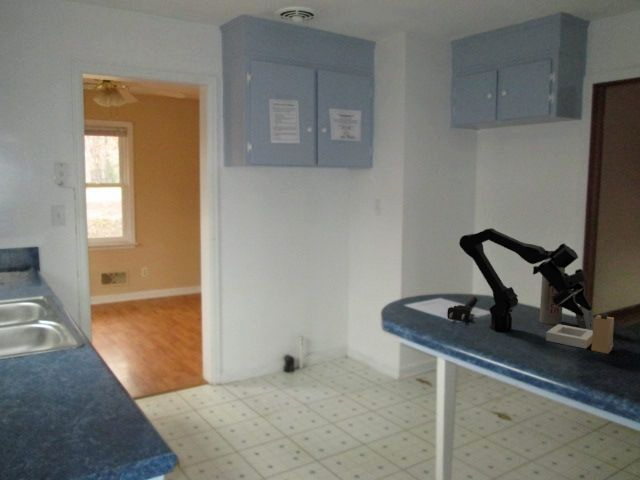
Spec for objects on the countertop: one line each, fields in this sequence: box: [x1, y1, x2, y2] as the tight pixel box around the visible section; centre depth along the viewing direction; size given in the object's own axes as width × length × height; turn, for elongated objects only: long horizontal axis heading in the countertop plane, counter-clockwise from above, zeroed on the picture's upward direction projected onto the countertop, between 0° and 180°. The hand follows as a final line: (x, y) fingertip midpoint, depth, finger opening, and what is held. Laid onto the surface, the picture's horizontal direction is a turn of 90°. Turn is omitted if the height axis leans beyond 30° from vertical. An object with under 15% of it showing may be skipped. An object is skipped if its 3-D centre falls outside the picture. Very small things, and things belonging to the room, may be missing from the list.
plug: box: [590, 313, 615, 355], centre depth 179 cm, size 6×5×12 cm
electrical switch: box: [574, 302, 595, 330], centre depth 204 cm, size 9×5×9 cm, turn 141°
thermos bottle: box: [539, 250, 566, 326], centre depth 211 cm, size 8×8×28 cm
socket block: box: [545, 324, 593, 350], centre depth 191 cm, size 13×13×3 cm
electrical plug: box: [446, 296, 478, 322], centre depth 230 cm, size 9×42×5 cm, turn 154°
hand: (586, 312), depth 182 cm, fingers open, 9 cm apart
